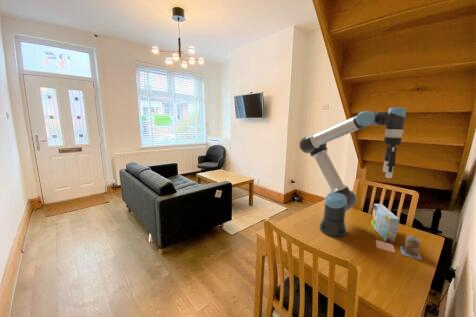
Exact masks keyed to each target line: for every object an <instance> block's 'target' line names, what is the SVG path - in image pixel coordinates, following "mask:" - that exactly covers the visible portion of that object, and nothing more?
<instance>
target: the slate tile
mask: <svg viewBox="0 0 476 317" xmlns="http://www.w3.org/2000/svg"><path fill="white" fill-rule="evenodd" d="M403 248H404V246H401V245H399V249H400V252H401V253H400V254H401V255H402V256H406V257H410V258H412V259H417V260H420V261H422V260H423V259H422V257H421V254H420V251H419V252H418V257H417V256H413V255H409V254H406V253H405V251H404V249H403Z"/></svg>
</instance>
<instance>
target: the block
mask: <svg viewBox="0 0 476 317" xmlns="http://www.w3.org/2000/svg"><path fill="white" fill-rule="evenodd" d="M403 247H404V248H403V249H404V251H405V253H406V254H409V255H413V256H417V257H418V252H419V253H420V247H421V241H420V239H419V237H416V236H412V235H408V234H406V235H405V239H404V243H403Z"/></svg>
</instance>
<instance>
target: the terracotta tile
mask: <svg viewBox="0 0 476 317" xmlns="http://www.w3.org/2000/svg"><path fill="white" fill-rule="evenodd" d="M375 244H376V249H378V250H379V249H380V250H381V251H382V250H384V251H386V252H389V253H396V251H395V248H394V243H391V242H385V241H381V240H377V239H375Z"/></svg>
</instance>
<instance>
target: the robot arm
mask: <svg viewBox="0 0 476 317" xmlns="http://www.w3.org/2000/svg"><path fill="white" fill-rule="evenodd" d="M406 114H407V109H406V108H405V107H389V109H388V110H387V111H370V110H364V111H360V112H358V114H357V115H355V116H352V117H351V118H348V119H346V120H344V121H342V122H340V123H337V124H335V125H333V126H331V127H329V128H326V129H324V130H322V131H320V132H317V133H312V134H309V135H307V136H304V137H302V138H301V140H300V141H299V148H300V150H301V151H302V153H304V154H305V153H306V154H310V157H312V158H313V159H315V161H316V163H317V165H318V167H319V169H320V170H321V173H322V175H323V177H324V178H325V180H326V182H327V184H328V186H329V188H330V192H329V193H327V194H326V196H325V199H324V209H323V210H324V211H323V218H322V219H321V222H320V224H319V230H320V231H321V232H322V233H323V234H324V235H327V236H329V237H332V238H333V237H335V238H343V237H345V236H346V235H347V228H346V224H345V218H346V217H345V216H346V213H347V211H349V210H350V209H352V208H353V207H354V206H355V205H356V204H357V195H356V194H355V193H354V192H353V190H350V188H349V186H348V185H345V184H344V183H343V181H342V178H341V176H340V175H339V173H338V171H337V169H336V168H335V166H334V164H333V162H332V160H331V158H330V156H329V154H328V150H329V149H328V147H327V146H328V145H327V144H328V143H329V142H333V141H334V140H336V139H339V138H341V137H344V136H346V135H349V134H351V133H353V132H356V131H359V130H361V129H363V128H366V127H369V126H383V127H384V126H385V130H384V132H385V133H384V136H385V137H384V138H383V144H384V145H386V150H385V155H384V160H383V161H384V162H383V167H382V168H383V169H382V172H383V173H385V178H387V179H393V176H394V175H393V174H394V173H393V172H394V169H395V168H394V167H395V166H396V155H397V147H396V146H399V145H401V144H402V140H403V139H402V136H403V134H404V133H405V131H404V126H405V121H406V116H407V115H406Z"/></svg>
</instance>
